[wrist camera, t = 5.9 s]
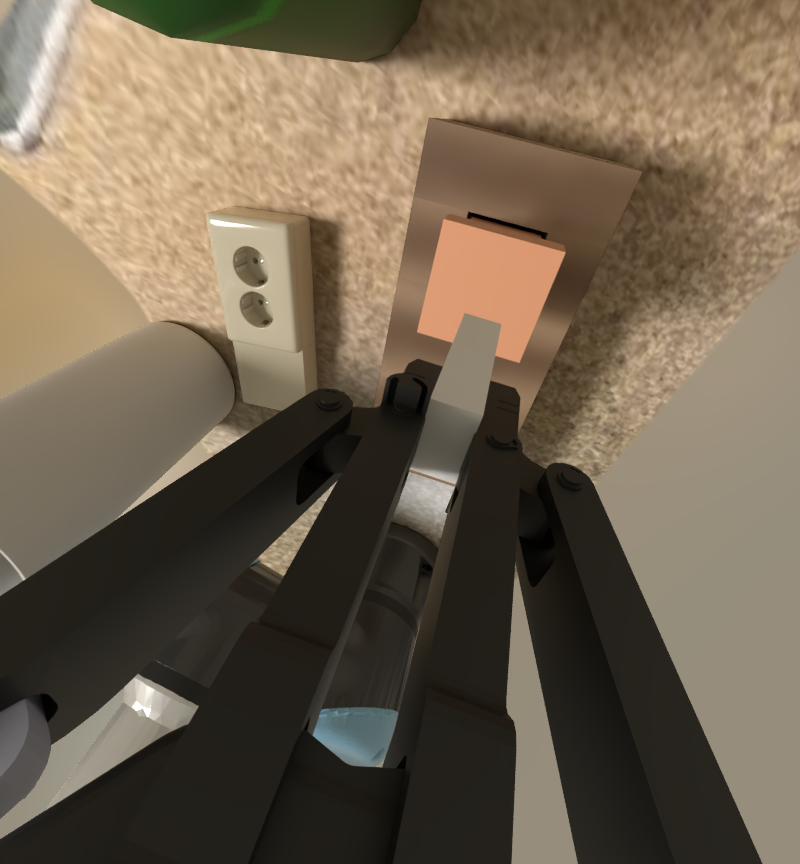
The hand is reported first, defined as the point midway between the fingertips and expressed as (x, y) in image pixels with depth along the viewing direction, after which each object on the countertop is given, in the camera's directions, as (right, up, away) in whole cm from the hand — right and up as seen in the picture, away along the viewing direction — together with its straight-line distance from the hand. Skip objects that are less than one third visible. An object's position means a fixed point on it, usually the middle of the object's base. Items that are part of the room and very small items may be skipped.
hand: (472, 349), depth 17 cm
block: (+3, +6, +19) cm, 20 cm away
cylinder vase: (-27, +3, +31) cm, 41 cm away
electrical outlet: (-14, +8, +24) cm, 29 cm away
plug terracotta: (+3, +8, +10) cm, 13 cm away
